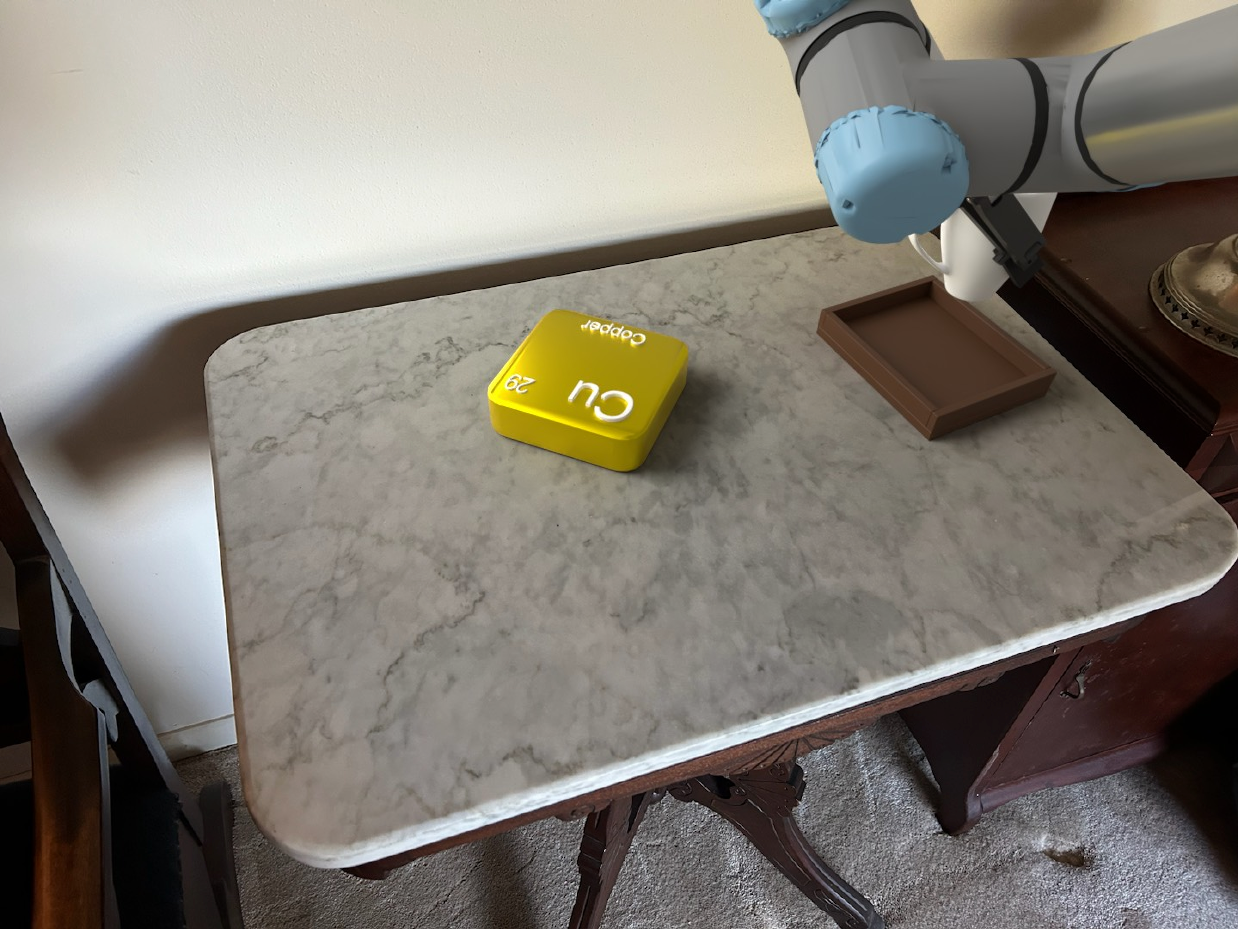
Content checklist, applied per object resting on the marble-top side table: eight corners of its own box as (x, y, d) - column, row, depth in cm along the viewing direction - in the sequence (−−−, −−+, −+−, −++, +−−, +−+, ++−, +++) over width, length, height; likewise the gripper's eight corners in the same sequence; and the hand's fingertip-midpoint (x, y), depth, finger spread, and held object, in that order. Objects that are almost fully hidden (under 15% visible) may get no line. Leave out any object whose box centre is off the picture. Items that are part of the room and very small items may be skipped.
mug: (987, 263, 82) (1027, 148, 74) (1032, 309, 77) (1082, 190, 69) (871, 274, 81) (900, 157, 73) (909, 322, 75) (945, 202, 67)
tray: (1045, 395, 82) (1058, 371, 80) (928, 441, 77) (937, 417, 75) (925, 297, 92) (933, 274, 90) (815, 332, 88) (821, 309, 86)
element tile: (691, 375, 83) (695, 336, 79) (636, 479, 73) (638, 440, 70) (553, 337, 87) (551, 298, 83) (483, 431, 77) (477, 392, 73)
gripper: (779, 90, 68) (888, 224, 84) (961, 216, 55) (1047, 345, 71) (847, 9, 65) (945, 163, 82) (1053, 121, 53) (1119, 277, 69)
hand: (992, 248), depth 77 cm, fingers closed on mug, 8 cm apart
